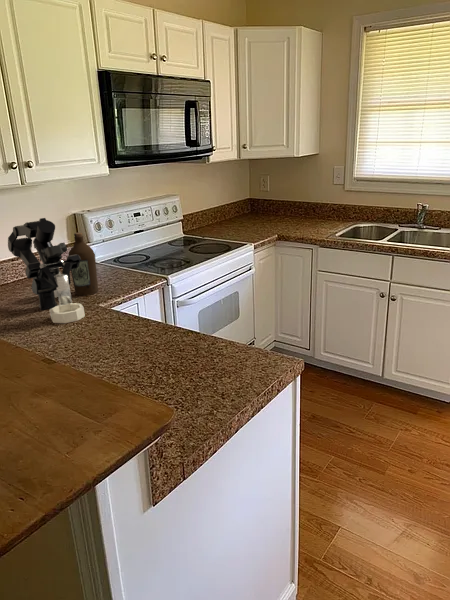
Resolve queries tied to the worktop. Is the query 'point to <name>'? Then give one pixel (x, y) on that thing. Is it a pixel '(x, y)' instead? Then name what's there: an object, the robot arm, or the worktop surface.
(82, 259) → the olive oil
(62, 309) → the bowl
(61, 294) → the canister
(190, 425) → the worktop surface
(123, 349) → the worktop surface
